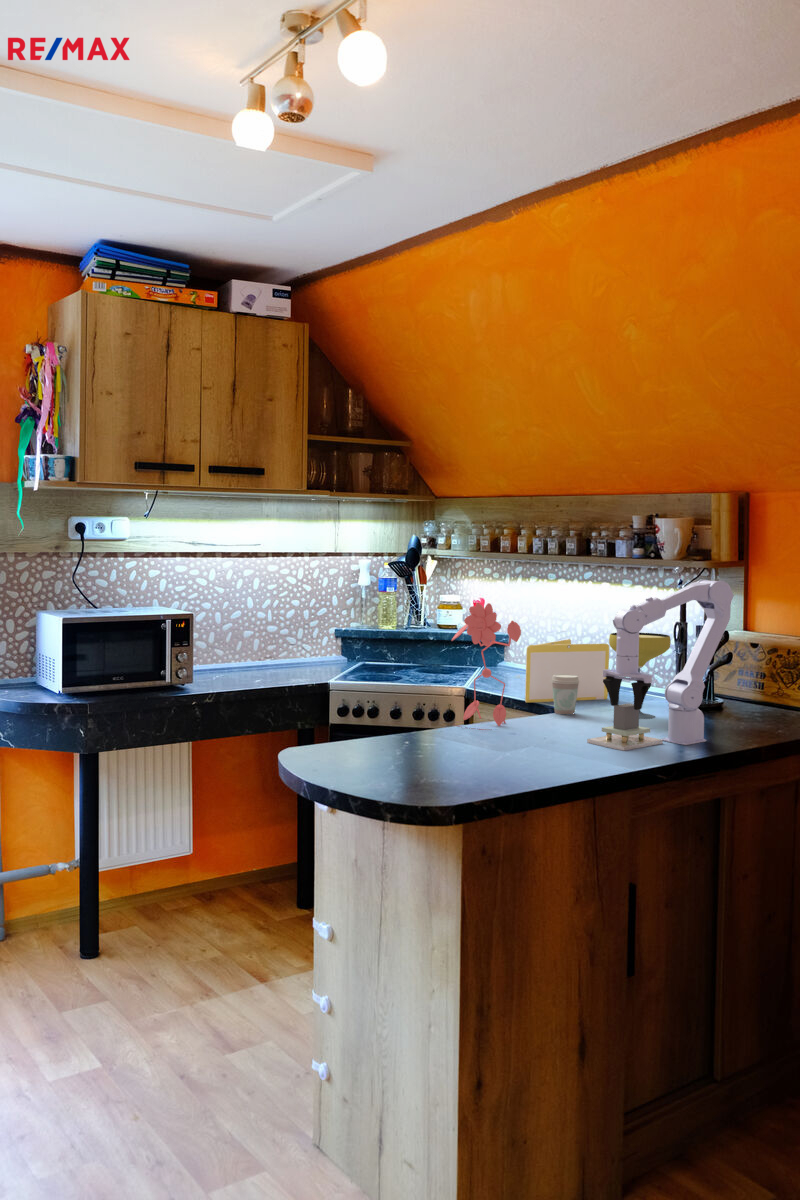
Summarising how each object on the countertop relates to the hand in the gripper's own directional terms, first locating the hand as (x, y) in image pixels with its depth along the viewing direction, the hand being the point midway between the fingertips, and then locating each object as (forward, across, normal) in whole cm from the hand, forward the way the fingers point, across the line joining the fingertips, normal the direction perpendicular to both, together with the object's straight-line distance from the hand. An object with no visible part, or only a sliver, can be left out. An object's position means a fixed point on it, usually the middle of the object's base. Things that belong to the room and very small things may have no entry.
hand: (626, 707), depth 261 cm
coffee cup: (+10, -39, +20) cm, 45 cm away
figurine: (+10, -41, -14) cm, 45 cm away
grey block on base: (+6, 0, 0) cm, 7 cm away
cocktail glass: (+10, -24, +36) cm, 44 cm away
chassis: (+10, 0, 0) cm, 10 cm away
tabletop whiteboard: (+10, -57, +42) cm, 72 cm away
